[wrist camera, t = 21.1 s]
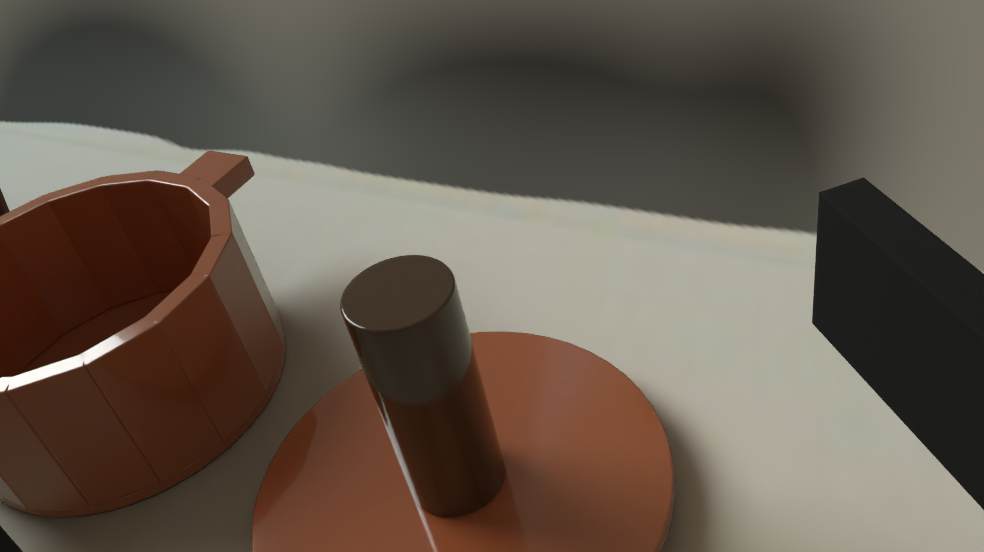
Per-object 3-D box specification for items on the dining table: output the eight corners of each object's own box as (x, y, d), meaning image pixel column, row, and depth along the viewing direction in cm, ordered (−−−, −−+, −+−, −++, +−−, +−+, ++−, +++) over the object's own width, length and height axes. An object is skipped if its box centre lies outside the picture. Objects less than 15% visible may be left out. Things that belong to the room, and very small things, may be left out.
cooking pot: (-145, 514, 35) (-262, 399, 31) (177, 235, 47) (122, 124, 43) (70, 632, 29) (-41, 509, 25) (379, 278, 41) (337, 155, 37)
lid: (177, 604, 29) (37, 410, 24) (404, 323, 38) (341, 132, 32) (566, 793, 23) (501, 589, 17) (732, 402, 32) (726, 181, 26)
